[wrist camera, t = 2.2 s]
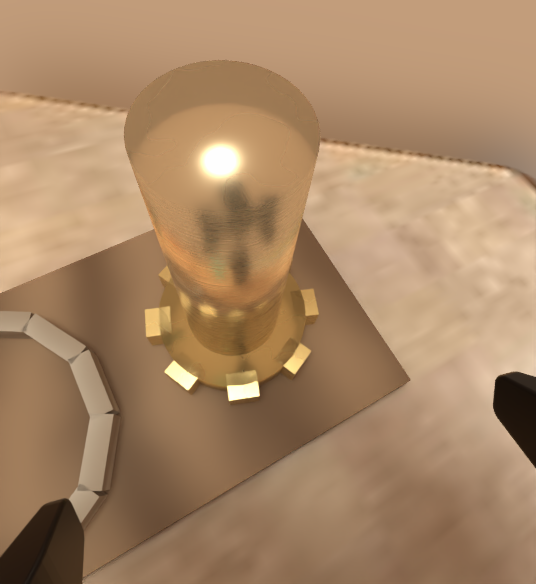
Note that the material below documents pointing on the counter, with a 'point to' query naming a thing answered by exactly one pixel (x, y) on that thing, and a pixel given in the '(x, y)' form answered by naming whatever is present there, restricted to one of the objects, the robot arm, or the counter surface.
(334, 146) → the counter surface
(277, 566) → the counter surface
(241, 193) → the gold piece
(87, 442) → the carrier plate
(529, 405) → the robot arm
